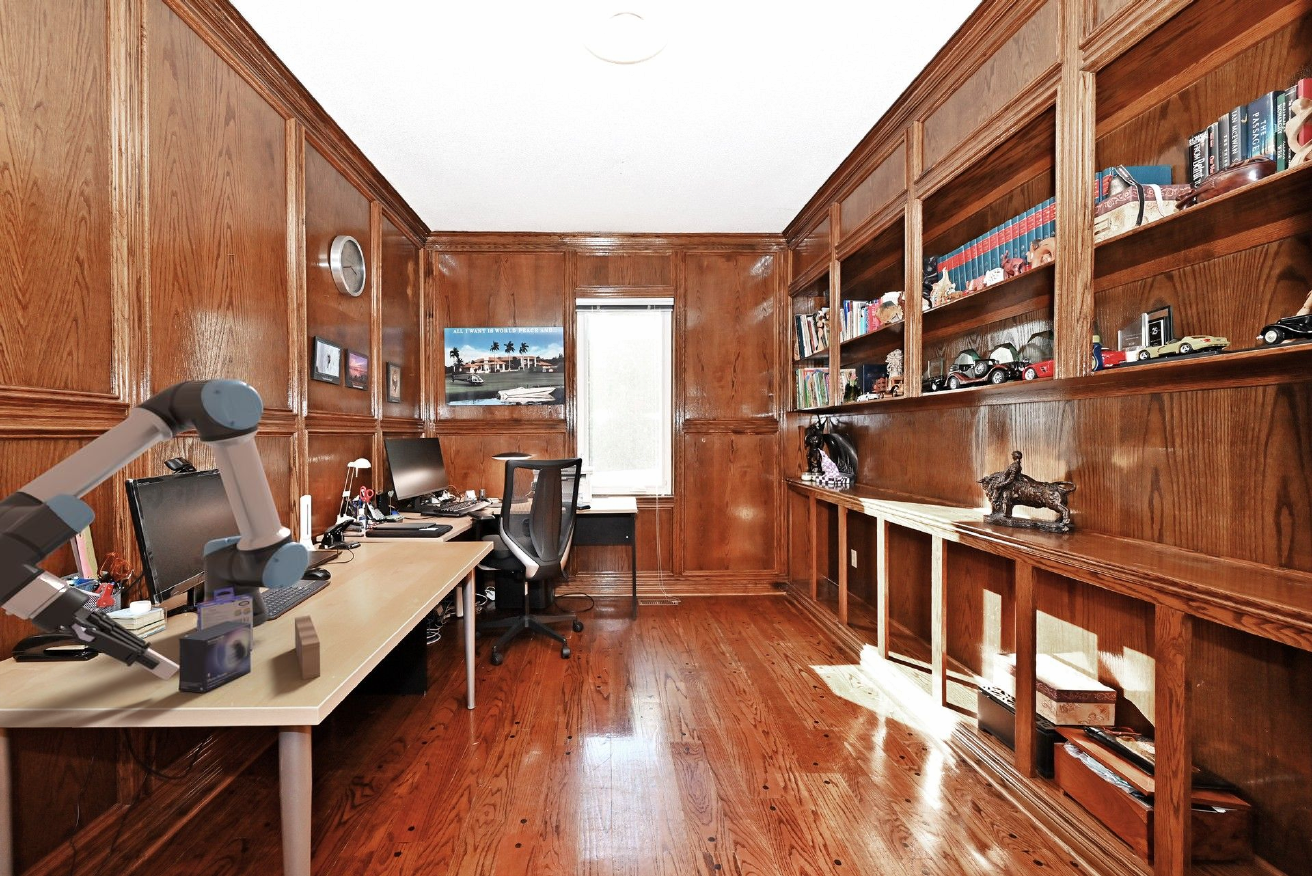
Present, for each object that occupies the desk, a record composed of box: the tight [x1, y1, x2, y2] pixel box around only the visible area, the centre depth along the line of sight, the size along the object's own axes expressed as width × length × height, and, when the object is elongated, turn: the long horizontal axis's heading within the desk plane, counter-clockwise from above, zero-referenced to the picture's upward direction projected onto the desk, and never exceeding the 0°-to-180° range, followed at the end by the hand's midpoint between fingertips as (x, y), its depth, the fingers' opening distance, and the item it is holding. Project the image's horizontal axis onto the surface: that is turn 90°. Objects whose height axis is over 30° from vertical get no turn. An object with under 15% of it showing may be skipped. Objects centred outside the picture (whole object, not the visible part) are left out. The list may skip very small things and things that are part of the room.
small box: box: [178, 621, 252, 694], centre depth 116 cm, size 11×6×10 cm, turn 170°
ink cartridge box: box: [196, 587, 254, 651], centre depth 131 cm, size 10×6×14 cm, turn 137°
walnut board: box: [294, 615, 321, 681], centre depth 126 cm, size 22×3×7 cm, turn 36°
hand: (173, 673), depth 112 cm, fingers closed
